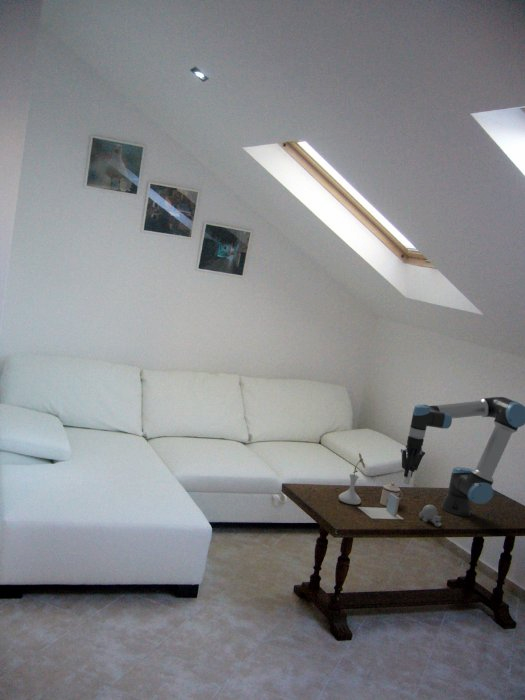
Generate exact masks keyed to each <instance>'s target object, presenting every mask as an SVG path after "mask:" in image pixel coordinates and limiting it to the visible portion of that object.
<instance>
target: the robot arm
mask: <svg viewBox="0 0 525 700" xmlns="http://www.w3.org/2000/svg"><path fill="white" fill-rule="evenodd" d="M479 416H480V417H482V418H493V419H494V421H493V423H494V425H495V426H494V429H493V430H492V432H491V435H490V437H489V439H488V441H487V444H486V445H485V448H484V450H483V452H482V454H481V456H480V458H479V461H478V462H477V466H476V468H475V469H472V468H466V467H461V466H455V467H453V468H452V471H451V475H450V481H449V486H448V488H447V489H448V490H447V494H446V496H445V497H444V500H443V501H442V502H441V506H440V507H441V509H442V510H443V511H445V512H448V513H449V514H452V515H456V516H460V517H461V516H462V517H469V516H471V514H472V504H471V502H473V503H475V504H477V505H482V504H486V503H488V502H489V501H490V500H491V499H492V497H493V496H494V490H493V484H494V478H493V476H494V473H495V471H496V469H497V467H498V465H499V463H500V460H501V459H502V457H503V455H504V453H505V450H506V447H507V445H508V442H509V441H510V439H511V437H512V434H515V433H517V431H518V429H519V428H521V427H523V426H525V405H523V403H520V402H518V401H516V400H512V399H509V398H507V397H504V396H496V397H495V396H493V397H486V398H485V397H483V398H480V399H479V400H474V401H473V400H472V401H465V402H456V403H455V402H454V403H447V404H446V403H444V404H438V405H437V404H436V405H428V404H416V405H415V406H414V408H413V411H412V418H411V421H410V426H409V430H408V431H409V432H408V436H407V440H406V446H405V447H404V448H401V449H400V452H401V469H403V470H404V473H403V476H404V479H403V483H404V484H406V485H410V482H411V478H412V477H413V473H415V471H418V469H419V466H420V463H421V462H422V459H423V457H424V456H425V454H426V452H425V451H424V450H423V449H422V447H423V446H424V445H423V444H424V438H425V436H426V431H427V428H428V427H431V428H438V429H445V430H447V429H449V428H450V427H451V426H452V422H453V419H458V418H459V419H460V418H470V417H479Z"/></svg>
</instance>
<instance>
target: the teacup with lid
mask: <svg viewBox="0 0 525 700" xmlns="http://www.w3.org/2000/svg"><path fill="white" fill-rule="evenodd" d="M389 493H393V494H394V495H396V496H397V497H398V498H400V500H401V499H402V498H403V491H401V489H400V487H398V486H397V485H395V483H394V482H390V483H388V484H384V485H383V486H382V492H381V496H380V501H379V503H380V504H381V505H383V506H385V507H387V503H388V498H389Z"/></svg>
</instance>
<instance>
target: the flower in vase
mask: <svg viewBox="0 0 525 700" xmlns="http://www.w3.org/2000/svg"><path fill="white" fill-rule="evenodd" d="M358 457H359V460H358V462H357V463H356V465H355V466H354V471H352V474H351V473H350V474H348V476H349V478H350V485H349V488H348V489H347V490H346V491H343V492H342V493H340V494H339V495H338V496H337V497H338V500H339V501H341V502H342V503H344V504H348V505H360V503H361V502H362V499H361V498H360V496H359V495H358V494H357V493H356V491H355V485H356V483H357V481H358V479H359V478H360V476H359V475H357V474H356V473H358V470H357V466H358V465H359V463H361V465H362V467H363V468H364V469H365V468H366V466H365V465H366V464H365V463H364V458H362V454H361V452H359V453H358Z"/></svg>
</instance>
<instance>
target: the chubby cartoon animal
mask: <svg viewBox="0 0 525 700" xmlns="http://www.w3.org/2000/svg"><path fill="white" fill-rule="evenodd" d="M418 517H419V518H421V519H422V522H423V523H424V522H425V523H428V522H429V523H430V522H431V523H432V524H434V526H435V527H441V525H442V522H441V518H442V517H443V516H439V515H438V509H437V507H436V506H435V505H433V504H427V505H424V507H423V508H422V511H420V512H419V513H418Z"/></svg>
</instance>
